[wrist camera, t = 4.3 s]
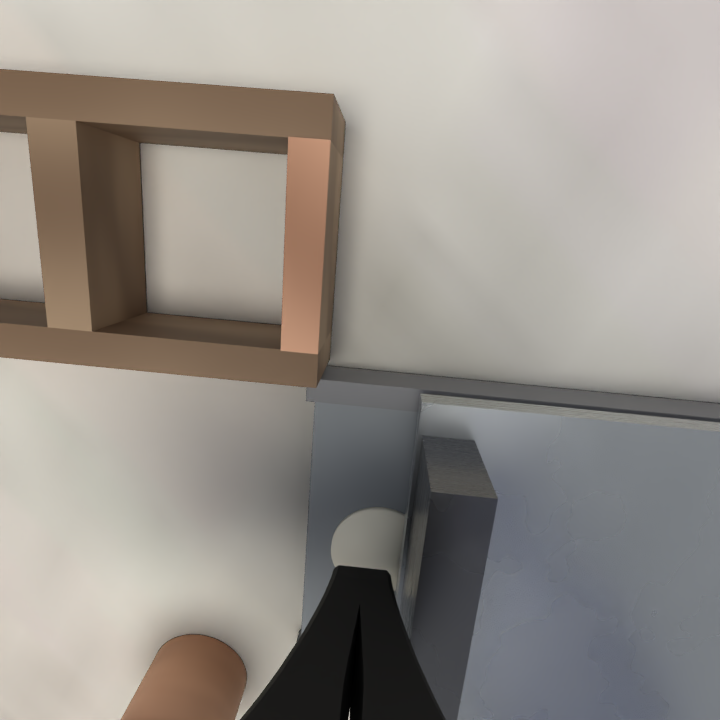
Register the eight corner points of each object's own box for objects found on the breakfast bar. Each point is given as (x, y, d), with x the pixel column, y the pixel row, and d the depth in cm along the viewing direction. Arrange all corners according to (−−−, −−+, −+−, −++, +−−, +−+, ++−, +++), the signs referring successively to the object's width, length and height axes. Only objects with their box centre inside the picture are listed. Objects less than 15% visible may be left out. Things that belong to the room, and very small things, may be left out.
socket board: (329, 358, 13) (315, 389, 10) (-63, 321, 13) (-167, 342, 11) (345, 122, 11) (333, 92, 9) (-103, 87, 11) (-235, 50, 9)
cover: (708, 739, 13) (796, 880, 10) (382, 699, 14) (380, 825, 11) (828, 432, 11) (989, 507, 8) (420, 393, 11) (431, 451, 8)
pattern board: (1015, 730, 14) (1069, 773, 13) (298, 644, 15) (290, 679, 14) (1192, 449, 12) (1279, 473, 11) (314, 364, 13) (306, 378, 11)
